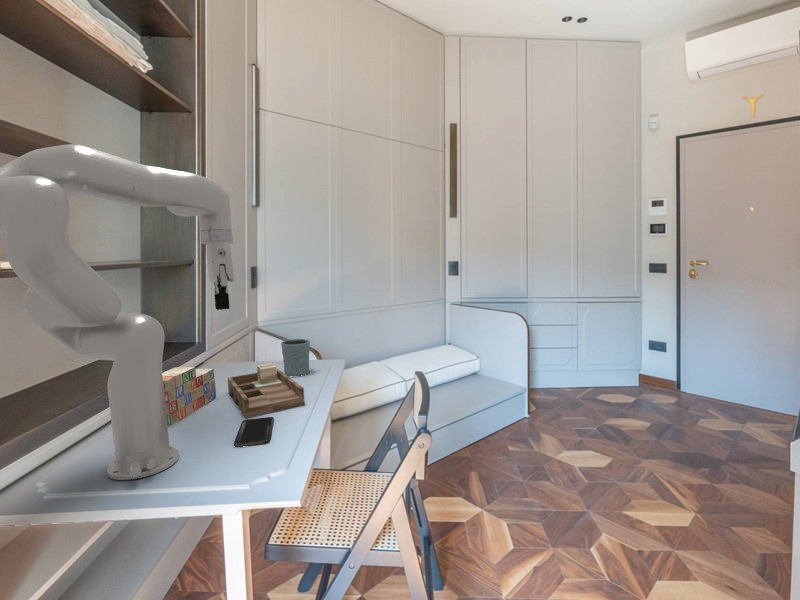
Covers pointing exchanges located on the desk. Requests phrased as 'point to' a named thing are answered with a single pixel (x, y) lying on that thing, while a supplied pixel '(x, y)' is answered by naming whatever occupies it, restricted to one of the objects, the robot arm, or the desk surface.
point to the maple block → (267, 373)
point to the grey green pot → (296, 356)
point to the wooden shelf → (265, 394)
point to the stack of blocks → (187, 391)
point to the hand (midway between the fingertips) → (222, 308)
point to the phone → (254, 432)
